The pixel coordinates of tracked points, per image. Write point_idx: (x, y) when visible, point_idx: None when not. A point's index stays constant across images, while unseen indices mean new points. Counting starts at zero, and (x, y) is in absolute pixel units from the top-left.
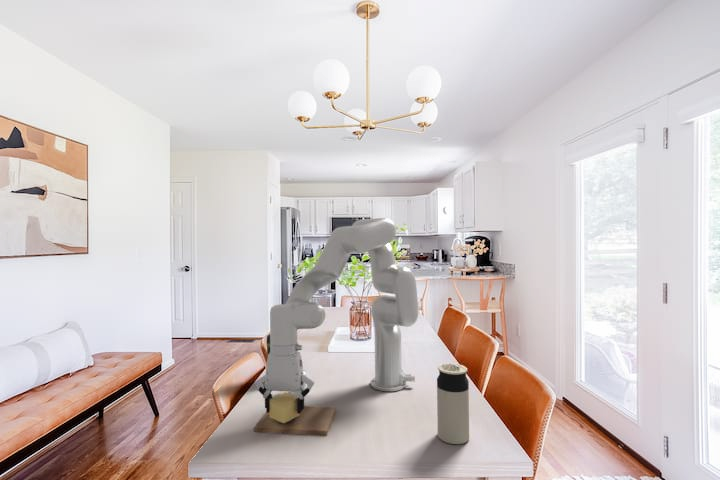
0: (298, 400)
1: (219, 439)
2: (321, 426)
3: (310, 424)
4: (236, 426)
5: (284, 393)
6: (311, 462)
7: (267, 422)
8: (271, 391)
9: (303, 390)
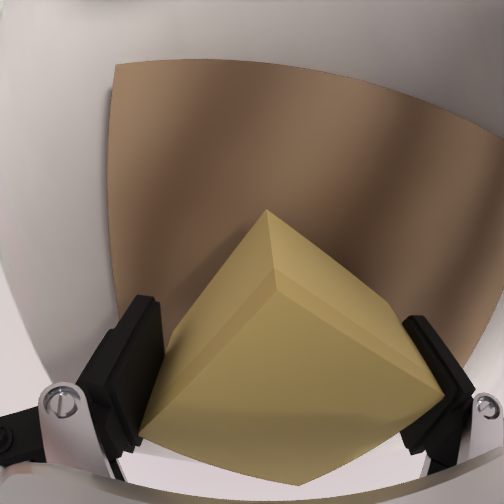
0: (414, 450)
1: (56, 374)
2: (454, 354)
3: None
4: (42, 297)
5: (268, 331)
6: (372, 455)
7: None
8: (95, 430)
9: (495, 440)
